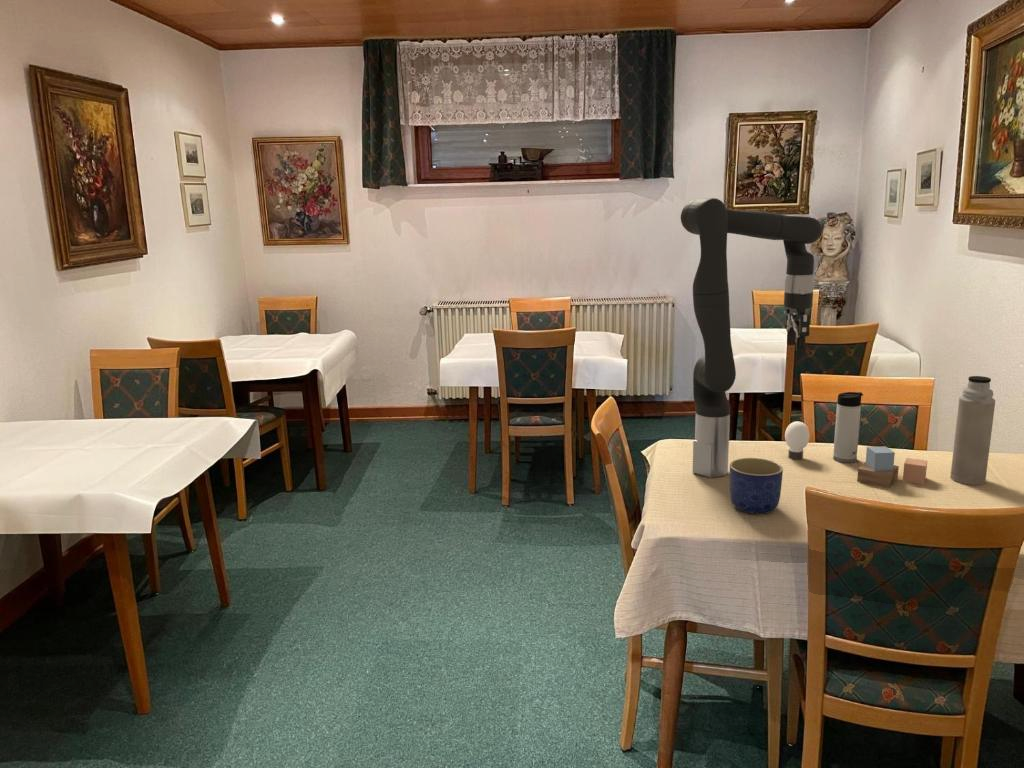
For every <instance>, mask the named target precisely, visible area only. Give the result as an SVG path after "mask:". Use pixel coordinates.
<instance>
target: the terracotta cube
mask: <svg viewBox="0 0 1024 768" xmlns="http://www.w3.org/2000/svg"><path fill="white" fill-rule="evenodd" d="M927 469H928V460H926V459H925V460H924V459H918V458H911V457H906V458H905V460H904V464H903V471H902V482H909V483H915V484H921V485H922V484H923V485H924V484H925V481H926V478H927V477H926V476H927Z"/></svg>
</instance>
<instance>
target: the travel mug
mask: <svg viewBox="0 0 1024 768" xmlns="http://www.w3.org/2000/svg"><path fill="white" fill-rule="evenodd" d="M863 396H864V394H863V392H862V391H861V392H859V391H857V392H856V391H847V392H841V393H838V395H837V402H836V411H835V412H836V413H835V414H836V415H835V426H834V441H833V454H832V458H833V460H835V461H837V462H840V463H844V464H846V463H847V464H848V463H849V464H850V463H854V462H856V461H857V459H858V448H859V435H860V423H861V410H862V409H861V406H862V397H863Z"/></svg>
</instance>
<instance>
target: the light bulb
mask: <svg viewBox="0 0 1024 768" xmlns="http://www.w3.org/2000/svg"><path fill="white" fill-rule="evenodd" d="M810 435H811V434H810V430H809V427H808V426H807V425H806V424H805V423H804V422H802V421H800V420H799V421H792V422H791V423H790V424H788V426H787V427H786V429H785V433H784V439H785V443H786V445H787V447H789V449H788V453H787V454H788V455H787V457H788V458H789V459H791V460H803V458H804V448H806V447H807V445H808V444H809V441H810V438H811V437H810Z"/></svg>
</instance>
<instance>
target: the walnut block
mask: <svg viewBox="0 0 1024 768" xmlns="http://www.w3.org/2000/svg"><path fill="white" fill-rule="evenodd" d="M865 464H866V461H865V462H863V463H862V464H861V465H860V466H859V467H858V468H857V478H856V479H857V480H856V482H858V483H863V484H868V485H873V486H874V485H875V486H879V487H883V488H887V489H888V488H889V489H890V488H891V487H892V486H893V485H894V483H896V482H897V480H898V477H899V467H900V466H899V465H896V464H894V467H893V470H890V471H873V470H872V469H871V468H869V467H868V466H867V465H865Z"/></svg>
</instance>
